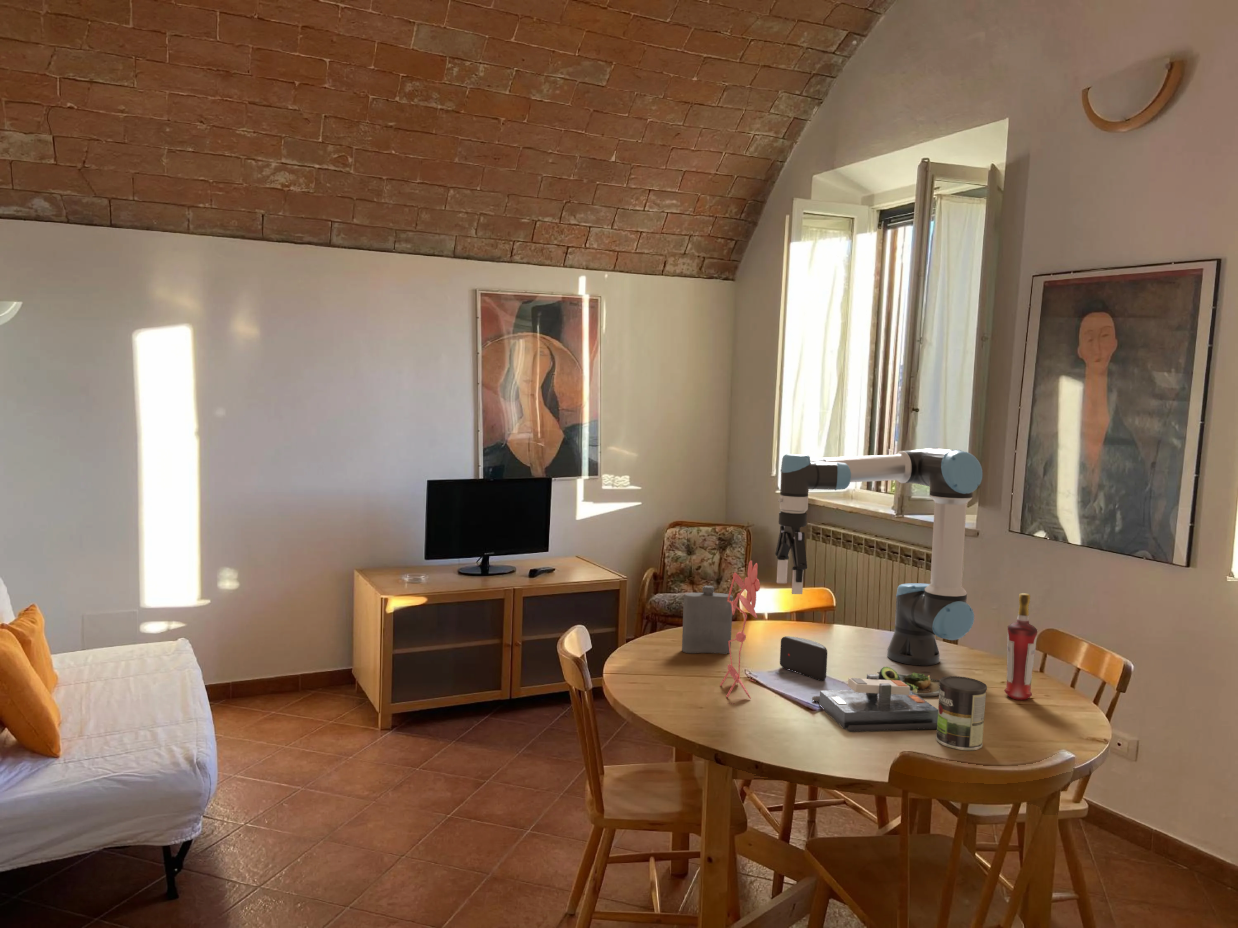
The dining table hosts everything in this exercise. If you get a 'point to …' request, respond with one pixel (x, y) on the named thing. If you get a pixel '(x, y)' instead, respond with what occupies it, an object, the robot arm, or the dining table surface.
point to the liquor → (1020, 653)
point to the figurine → (751, 587)
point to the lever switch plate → (876, 707)
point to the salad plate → (912, 681)
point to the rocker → (877, 686)
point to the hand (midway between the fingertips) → (789, 588)
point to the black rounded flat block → (804, 657)
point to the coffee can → (961, 713)
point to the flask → (707, 622)
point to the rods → (887, 725)
